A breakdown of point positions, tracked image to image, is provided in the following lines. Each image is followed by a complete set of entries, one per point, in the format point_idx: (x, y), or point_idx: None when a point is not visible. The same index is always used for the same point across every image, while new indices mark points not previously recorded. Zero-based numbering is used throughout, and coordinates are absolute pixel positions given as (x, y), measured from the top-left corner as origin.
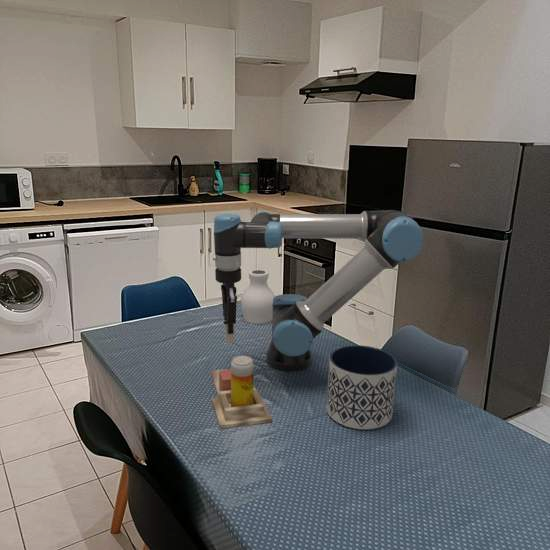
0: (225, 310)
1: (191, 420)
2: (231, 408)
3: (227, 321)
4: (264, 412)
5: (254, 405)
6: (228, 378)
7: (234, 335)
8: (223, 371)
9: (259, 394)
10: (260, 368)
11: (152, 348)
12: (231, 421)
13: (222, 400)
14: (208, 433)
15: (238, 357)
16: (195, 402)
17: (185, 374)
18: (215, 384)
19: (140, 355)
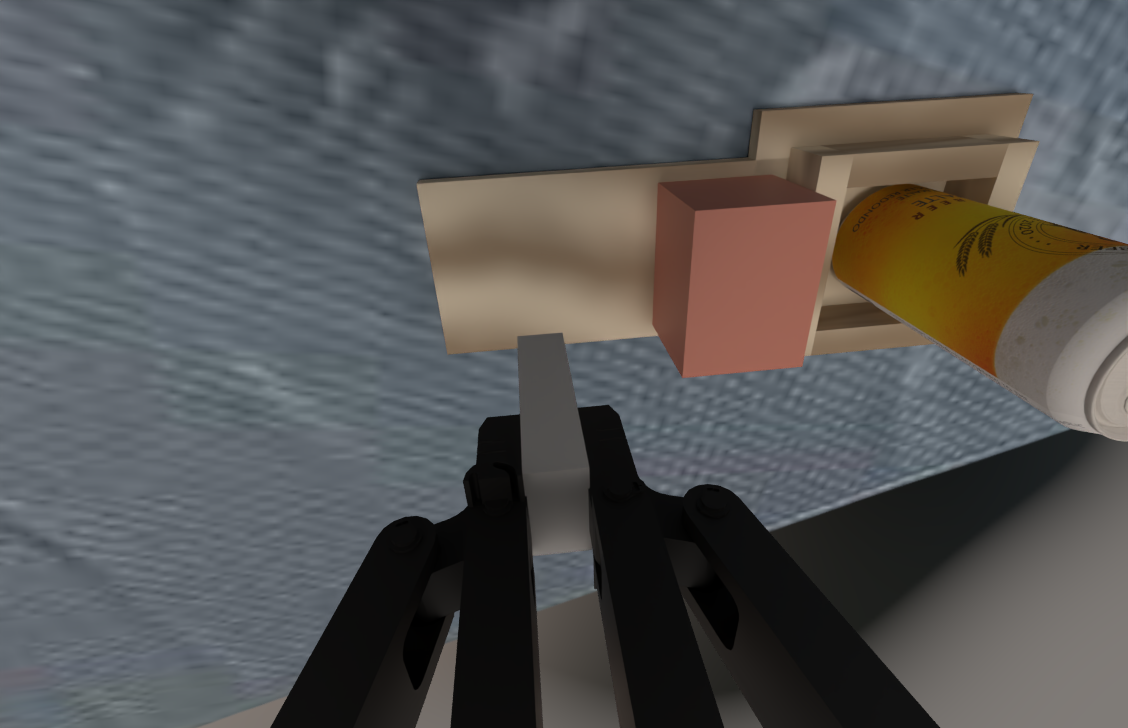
0: (540, 704)
1: (827, 426)
2: None
3: (717, 591)
4: (961, 123)
5: (1001, 195)
6: (796, 335)
7: (569, 370)
8: (701, 355)
9: (779, 114)
10: (391, 19)
11: (168, 579)
12: None
13: (872, 346)
14: (936, 374)
15: (1089, 391)
16: (706, 413)
17: (449, 451)
18: (603, 339)
19: (255, 607)
